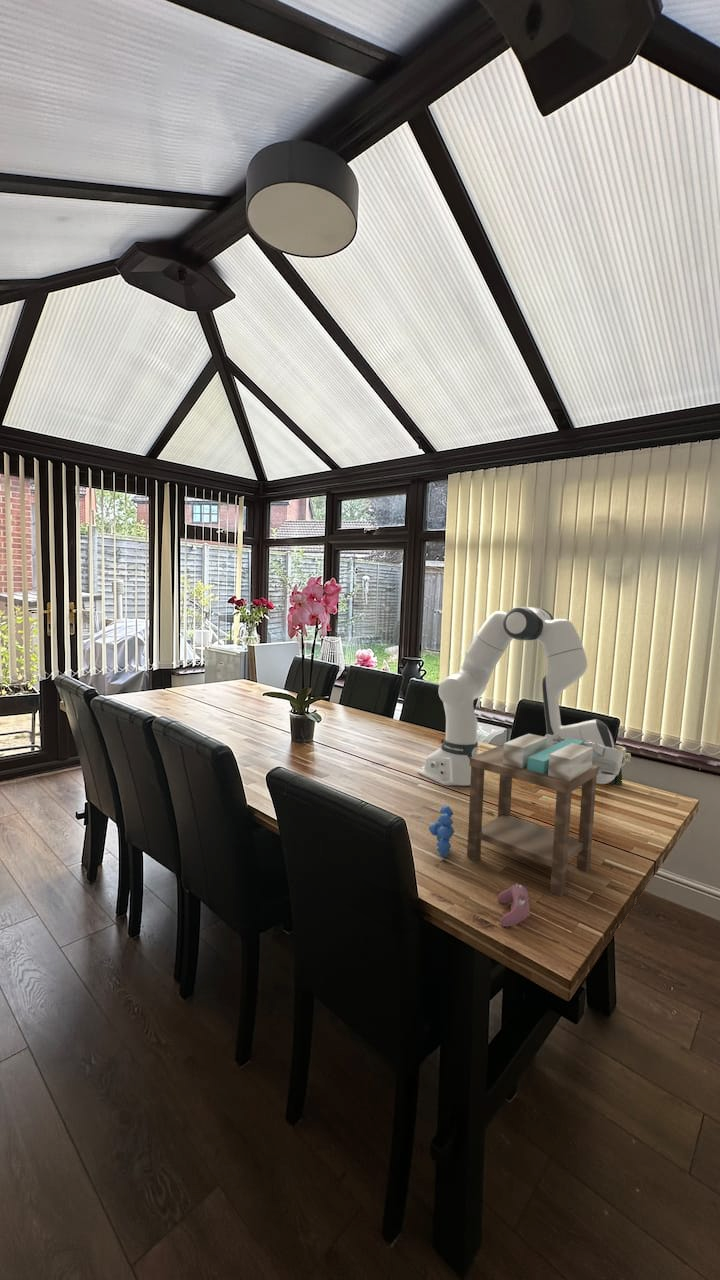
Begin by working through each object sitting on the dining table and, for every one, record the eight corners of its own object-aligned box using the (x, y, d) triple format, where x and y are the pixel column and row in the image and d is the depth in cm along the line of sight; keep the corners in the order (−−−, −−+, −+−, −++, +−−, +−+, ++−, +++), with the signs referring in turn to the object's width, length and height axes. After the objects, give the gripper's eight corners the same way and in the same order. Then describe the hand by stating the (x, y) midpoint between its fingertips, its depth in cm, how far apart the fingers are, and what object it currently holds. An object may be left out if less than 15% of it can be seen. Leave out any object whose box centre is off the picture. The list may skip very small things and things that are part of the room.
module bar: (527, 769, 125) (527, 757, 124) (568, 748, 142) (569, 737, 142) (543, 773, 122) (544, 761, 122) (583, 752, 139) (584, 741, 139)
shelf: (465, 856, 135) (470, 738, 132) (500, 833, 148) (506, 725, 145) (561, 897, 118) (570, 762, 115) (591, 867, 131) (600, 746, 128)
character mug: (599, 784, 187) (602, 749, 186) (593, 777, 194) (596, 743, 193) (632, 787, 186) (634, 751, 184) (625, 780, 193) (627, 745, 191)
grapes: (430, 839, 144) (432, 797, 142) (455, 843, 142) (457, 800, 141) (424, 860, 132) (426, 814, 131) (452, 864, 131) (453, 818, 130)
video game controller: (518, 938, 106) (536, 910, 105) (498, 925, 107) (515, 898, 106) (513, 909, 116) (530, 883, 115) (495, 897, 116) (511, 872, 115)
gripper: (555, 738, 156) (538, 722, 146) (629, 754, 142) (615, 738, 132) (549, 758, 154) (532, 743, 145) (624, 777, 140) (610, 762, 131)
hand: (572, 741), depth 138 cm, fingers open, 8 cm apart
